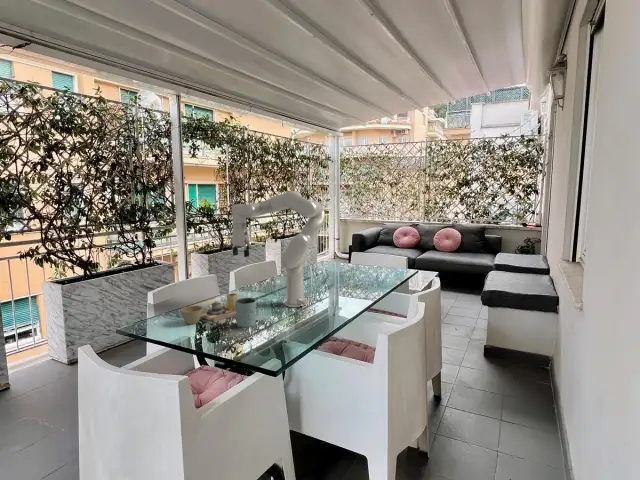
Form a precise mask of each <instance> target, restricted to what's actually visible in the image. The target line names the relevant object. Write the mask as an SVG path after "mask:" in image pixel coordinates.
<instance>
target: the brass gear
mask: <svg viewBox="0 0 640 480" xmlns="http://www.w3.org/2000/svg"><path fill="white" fill-rule="evenodd" d="M237 299H238V293H228V294H226V303H225V304H224V305H222V306H223V308H224V309H226V310H235V309H236V307H235V300H237Z"/></svg>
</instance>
